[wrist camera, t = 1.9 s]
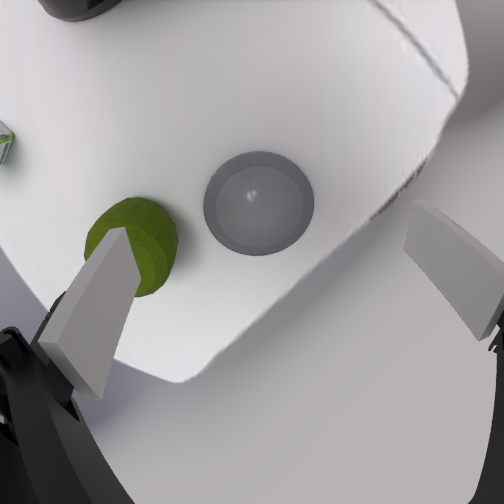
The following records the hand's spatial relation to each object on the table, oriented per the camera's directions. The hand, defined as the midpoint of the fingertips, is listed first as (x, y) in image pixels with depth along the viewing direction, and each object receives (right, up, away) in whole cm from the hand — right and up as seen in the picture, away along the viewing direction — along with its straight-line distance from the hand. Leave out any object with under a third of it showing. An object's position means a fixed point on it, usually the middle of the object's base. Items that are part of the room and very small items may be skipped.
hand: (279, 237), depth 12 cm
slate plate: (0, +6, +24) cm, 25 cm away
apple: (-16, +3, +25) cm, 30 cm away
